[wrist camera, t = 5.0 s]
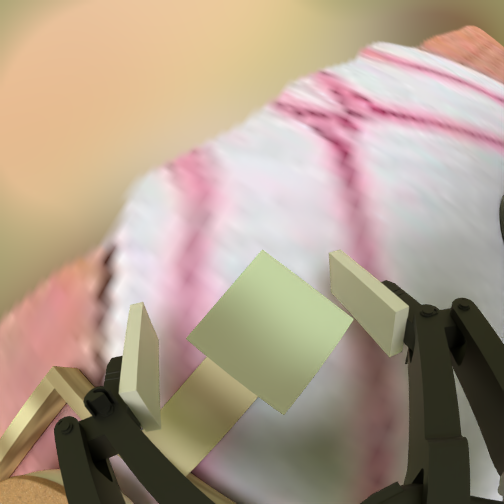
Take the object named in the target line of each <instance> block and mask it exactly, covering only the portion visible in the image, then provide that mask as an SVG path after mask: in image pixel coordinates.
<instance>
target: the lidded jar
mask: <svg viewBox="0 0 504 504" xmlns="http://www.w3.org/2000/svg"><path fill="white" fill-rule="evenodd" d="M121 493H122V492H121ZM122 495H123V498H124V500H125V503H126V504H134V503H133V502H132V501H131V500H130V499H129V498H128V497H127V496H126V495H125V494H123V493H122ZM0 504H68V501H67V497H66V493H65V489H64V485H63V480H62V475H61V471H60V469H49V470H43V471H36V472H32V473H28V474H25V475H21V476H14V477H10V478H8V479H5V480H3V481H1V482H0Z"/></svg>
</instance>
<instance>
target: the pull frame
mask: <svg viewBox="0 0 504 504" xmlns="http://www.w3.org/2000/svg"><path fill="white" fill-rule="evenodd" d="M353 320H354V319H353V318H352V317H351V316H349V315H348V314H347V313H345V312H344V311H343V310H342V309H340V308H339V307H338V306H336V305H335V304H334V303H332V302H331V301H330V300H328V299H327V298H326V297H324V296H323V295H322V294H320V293H319V292H318V291H317V290H315V289H314V288H313V287H311V286H310V285H309V284H307V283H306V282H305V281H303V280H302V279H301V278H299V277H298V276H297V275H295V274H294V273H293V272H291V271H290V270H289V269H288V268H286V267H285V266H284V265H282V264H281V263H280V262H278V261H277V260H276V259H274V258H273V257H272V256H270V255H269V254H268V253H266V252H265V251H264V250H262V251H261V252H260V253H259V254H258V255H257V257H256V258H255V259H254V260H253V261H252V262H251V264H250V265H249V266H248V267H247V268H246V269H245V271H244V272H243V273H242V274H241V275H240V276H239V278H238V279H237V280H236V281H235V282H234V283H233V285H232V286H231V287H230V288H229V289H228V290H227V292H226V293H225V294H224V295H223V296H222V297H221V298H220V300H219V301H218V302H217V303H216V304H215V305H214V307H213V308H212V309H211V310H210V311H209V312H208V314H207V315H206V316H205V317H204V318H203V319H202V321H201V322H200V323H199V324H198V325H197V326H196V327H195V329H194V330H193V331H192V332H191V333H190V334H189V336H188V337H187V338H186V339H187V340H188V341H189V342H190V343H192V344H193V345H194V346H195V347H196V348H197V349H199V350H200V351H201V352H202V353H203V354H205V355H206V356H207V357H206V358H205V359H204V361H203V362H202V363H201V364H200V365H199V366H198V368H197V369H196V370H195V371H194V372H193V373H192V375H191V376H190V377H189V378H188V379H187V380H186V381H185V383H184V384H183V385H182V386H181V387H180V388H179V389H178V391H177V392H176V393H175V394H174V395H173V396H172V397H171V399H170V400H169V401H168V402H167V403H166V404H165V405H164V407H163V408H162V409H161V410H160V414H161V429H160V430H154V431H148V432H145V430H144V429H143V430H142V432H143V433H144V434H145V435H146V436H147V437H148V438H149V439H150V441H151V442H152V443H153V444H154V445H155V446H156V447H157V448H158V449H159V450H160V451H161V452H162V454H163V455H164V456H165V457H166V458H167V459H168V460H169V461H170V462H171V463H172V464H173V465H174V466H175V467H176V468H177V469H178V470H179V471H180V472H181V473H182V474H183V475H184V476H185V477H186V478H187V479H189V480H190V481H191V482H192V483H193V484H194V485H195V486H196V487H197V488H198V489H199V490H200V491H202V492H203V493H204V494H205V495H206V496H207V497H208V498H210V499H211V500H212V501H213V502H214V503H215V504H237V503H235V502H233V501H232V500H230V499H229V498H227V497H225V496H224V495H222V494H221V493H219V492H218V491H216V490H215V489H213V488H212V487H210V486H209V485H207V484H206V483H204V482H203V481H202V480H200V479H199V478H197V477H196V476H194V475H193V474H192V473H190V472H191V471H192V470H193V469H194V468H195V467H196V466H197V465H198V464H199V463H200V462H201V460H202V459H203V458H204V457H205V456H206V455H207V454H208V453H209V452H210V451H211V450H212V449H213V448H214V447H215V445H216V444H217V443H218V442H219V441H220V440H221V439H222V438H223V437H224V436H225V434H226V433H227V432H228V431H229V430H230V429H231V428H232V427H233V425H234V424H235V423H236V422H237V421H238V420H239V419H240V417H241V416H242V415H243V414H244V413H245V412H246V410H247V409H248V408H249V407H250V406H251V405H252V403H253V402H254V401H255V400H256V399H257V397H259V398H261V399H262V400H263V401H265V402H266V403H267V404H269V405H270V406H272V407H273V408H274V409H276V410H277V411H279V412H280V413H281V414H283V415H284V414H285V413H286V412H287V410H288V409H289V408H290V407H291V406H292V404H293V403H294V402H295V400H296V399H297V398H298V397H299V395H300V394H301V393H302V392H303V390H304V389H305V388H306V386H307V385H308V384H309V382H310V381H311V380H312V378H313V377H314V376H315V374H316V373H317V372H318V370H319V369H320V368H321V366H322V365H323V363H324V362H325V361H326V359H327V358H328V356H329V355H330V354H331V352H332V351H333V349H334V348H335V347H336V345H337V344H338V342H339V341H340V339H341V338H342V336H343V335H344V333H345V332H346V330H347V329H348V327H349V326H350V324H351V323H352V321H353ZM93 388H95V387H94V386H93V385H92V384H91V383H90V382H89V381H88V380H87V379H86V377H85V376H84V375H83V374H82V373H81V372H80V371H79V370H78V368H67V367H57V366H53V367H52V368H51V369H50V371H49V372H48V373H47V375H46V376H45V377H44V379H43V380H42V381H41V382H40V384H39V385H38V386H37V388H36V389H35V391H34V392H33V393H32V395H31V396H30V397H29V399H28V400H27V401H26V403H25V404H24V406H23V407H22V408H21V410H20V411H19V413H18V414H17V415H16V417H15V418H14V420H13V421H12V423H11V424H10V425H9V427H8V428H7V430H6V431H5V433H4V434H3V436H2V437H1V439H0V482H1V481H3V480H5V479H8V478H9V477H10V476H11V474H12V473H13V472H14V470H15V469H16V467H17V466H18V465H19V463H20V462H21V461H22V459H23V458H24V457H25V455H26V454H27V453H28V451H29V450H30V449H31V447H32V446H33V445H34V444H35V442H36V441H37V440H38V438H39V437H40V436H41V434H42V433H43V432H44V431H45V429H46V428H47V427H48V425H49V424H50V423H51V422H52V420H53V419H54V418H55V417H56V415H57V414H58V413H59V412H60V410H61V409H62V408H63V407H64V405H65V404H66V403H67V404H68V405H69V406H70V407H71V408H72V409H73V410H74V412H75V413H76V414H77V415H78V416H79V417H80V418H81V419H82V420H84V419H86V418H88V417H90V416H92V415H91V414H90V413H89V411H88V410H87V409H86V407H85V406H84V402H83V401H84V397H85V396H86V394H87V393H88V392H89V391H90V390H91V389H93ZM117 455H118V456H119V457H120V455H119V454H117ZM120 458H121V457H120Z"/></svg>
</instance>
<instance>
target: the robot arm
mask: <svg viewBox="0 0 504 504" xmlns="http://www.w3.org/2000/svg"><path fill="white" fill-rule="evenodd" d="M500 219H501V227H502V233H503V237H504V196H503V198H502V201H501V207H500ZM329 262H330V281H331V293H332V294H333V295H334V296H335V297H336V298H337V299H338V300H339V301H340V303H341V304H342V305H343V306H344V307H345V308H346V309H347V310H348V311H349V313H350V314H351V315H352V316H353V317H354V318H355V319H356V320H357V321H358V323H359V324H360V325H361V326H362V327H363V328H364V329H365V330H366V331H367V333H368V334H369V335H370V336H371V337H372V338H373V339H374V340H375V342H376V343H377V344H378V345H379V346H380V347H381V348H382V350H383V351H384V352H385V353H386V354H387V355H388V356H389V358H390V357H392V356H394V355H396V354H398V353H400V352H402V349H403V343H405V344H406V345H407V346H408V352H407V357H406V362H405V364H407V363H408V374H409V450H408V467H407V474H406V477H405V481H404V485H401V486H400V485H399V483H398V482H395V483H393V484H392V485H390V486H388V487H386V488H384V489H382V490H380V491H378V492H376V493H374V494H372V495H371V496H370V497H368V498H367V499H366V500H364V501H363V502H362V503H360V504H504V344H503V343H502V341H501V340H500V338H499V337H498V335H497V334H496V332H495V331H494V330H493V328H492V327H491V325H490V324H489V323H488V321H487V320H486V318H485V317H484V316H483V314H482V313H481V312H480V310H479V309H478V308H477V306H476V305H475V304H474V303H473V302H472V301H471V300H469V299H466V298H458V299H455V300H454V301H453V302H452V307H451V308H449V309H444V310H439V309H438V308H436V307H435V306H432V305H427V304H425V305H421V304H419V303H418V302H417V301H416V300H415V299H413V298H412V297H411V296H410V295H408V294H407V293H405V291H403V290H402V289H401V288H400V287H399V286H397V285H396V284H395V283H392V282H390V281H387V280H385V281H383V282H380V281H378V280H377V279H376V278H375V277H374V276H372V275H371V274H370V273H369V272H368V271H366V270H365V269H364V268H363V267H361V266H360V265H359V264H358V263H356V262H355V261H354V260H353V259H351V258H350V257H349V256H348V255H346V254H345V253H344V252H343V251H341V250H337V251H334V252H330V253H329ZM452 367H453V369H454V371H455V373H456V375H457V377H458V379H459V381H460V384H461V386H462V388H463V390H464V392H465V394H466V397H467V399H468V401H469V404H470V406H471V408H472V410H473V413H474V415H475V418H476V420H477V422H478V425H479V427H480V430H481V432H482V435H483V438H484V440H485V443H486V446H487V448H488V451H489V454H490V457H491V459H492V461H493V464H494V466H495V468H496V470H497V472H498V474H499V475H500V482H499V484H500V485H499V487H498V493H499V494H500V495H502V496H503V501H496V500H490V499H485V498H480V497H475V496H470V465H469V448H468V441H467V439H466V437H462V435H461V428H460V418H459V409H458V401H457V394H456V387H455V381H454V375H453V369H452ZM83 402H84V406H85V407H86V409H87V410H88V411H89V413H90V414H91V415H92V416H90V417H88V418H86V419H84V420H81V421H78V420H77V419H76V418H74V417H70V416H68V417H64V418H62V419H60V420H59V421H58V422H57V423H56V426H55V428H54V435H55V442H56V449H57V455H58V460H59V465H60V471H61V475H62V480H63V485H64V489H65V493H66V497H67V501H68V504H126V503H125V500H124V498H123V495H122V493H121V490H120V488H119V485H118V483H117V480H116V477H115V475H114V472H113V469H112V466H111V463H110V461H109V458H110V457H112V456H115V455H117V454H119V455H120V457H121V458H122V459H123V461H124V462H125V463H126V465H127V466H128V467H129V468H130V470H131V471H132V472H133V474H134V475H135V476H136V477H137V479H138V480H139V481H140V482H141V483H142V485H143V486H144V487H145V488H146V489H147V491H148V492H149V493H150V494H151V495H152V496H153V497H154V499H155V500H156V501H157V502H158V503H159V504H215V503H214V502H213V501H212V500H211V499H210V498H208V497H207V496H206V495H205V494H204V493H203V492H202V491H200V490H199V489H198V488H197V487H196V486H195V485H194V484H193V483H192V482H191V481H190V480H189V479H187V478H186V477H185V476H184V475H183V474H182V473H181V472H180V471H179V470H178V469H177V468H176V467H175V466H174V465H173V464H172V463H171V462H170V461H169V460H168V459H167V458H166V457H165V456H164V455H163V454H162V452H161V451H160V450H159V449H158V448H157V447H156V446H155V445H154V444H153V443H152V442H151V441H150V439H149V438H148V437H147V436H146V435H145V434H144V433H143V432H142V430H141V426H142V428H143V429H144V430H145V432H148V431H154V430H160V429H161V414H160V391H159V340H158V337H157V335H156V333H155V330H154V328H153V325H152V323H151V321H150V318H149V316H148V313H147V311H146V308H145V306H144V303H143V302H141V303H137V304H133V305H130V310H129V317H128V323H127V329H126V336H125V343H124V350H123V356H119V357H114V358H112V359H111V360H110V362H109V363H108V365H107V369H106V375H105V382H104V387H103V386H100V387H96V388H93V389H91V390H90V391H89V392H88V393H87V394H86V396H85V397H84V401H83Z"/></svg>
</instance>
